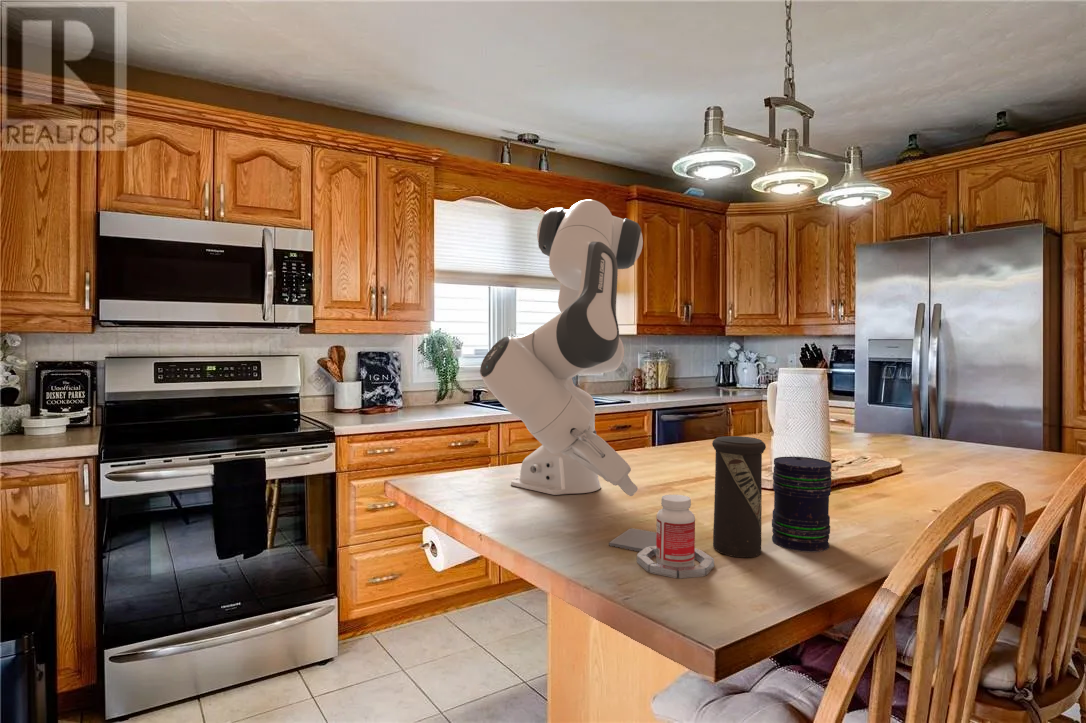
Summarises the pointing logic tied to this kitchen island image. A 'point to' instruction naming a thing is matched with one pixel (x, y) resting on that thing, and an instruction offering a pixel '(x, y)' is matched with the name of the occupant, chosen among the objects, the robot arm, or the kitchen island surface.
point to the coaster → (635, 539)
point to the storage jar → (801, 503)
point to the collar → (675, 572)
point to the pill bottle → (675, 532)
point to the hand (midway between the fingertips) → (621, 484)
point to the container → (738, 495)
